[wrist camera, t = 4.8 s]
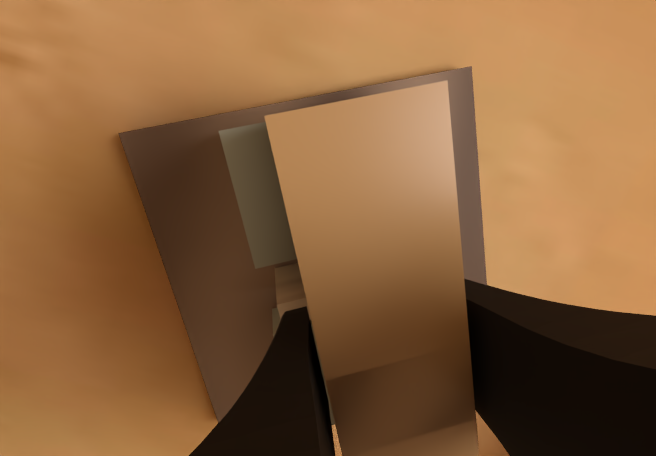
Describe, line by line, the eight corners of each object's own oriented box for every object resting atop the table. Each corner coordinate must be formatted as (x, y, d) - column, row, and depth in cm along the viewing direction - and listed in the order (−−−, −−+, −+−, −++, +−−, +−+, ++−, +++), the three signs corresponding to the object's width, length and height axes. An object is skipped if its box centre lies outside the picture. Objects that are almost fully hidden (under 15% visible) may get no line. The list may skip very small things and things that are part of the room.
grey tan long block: (368, 101, 11) (447, 80, 6) (415, 421, 14) (488, 571, 9) (267, 121, 10) (264, 116, 6) (341, 442, 14) (377, 607, 9)
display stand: (460, 69, 14) (530, 47, 11) (482, 345, 18) (539, 402, 14) (127, 133, 13) (69, 133, 9) (223, 417, 17) (210, 502, 13)
